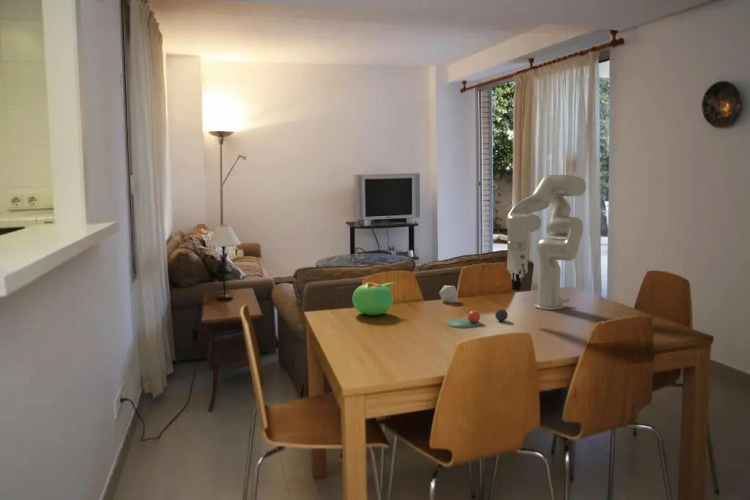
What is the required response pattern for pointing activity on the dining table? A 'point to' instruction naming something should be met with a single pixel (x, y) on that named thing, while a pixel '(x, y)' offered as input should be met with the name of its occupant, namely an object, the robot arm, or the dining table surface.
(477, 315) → the red ball
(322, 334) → the dining table surface
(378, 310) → the green apple
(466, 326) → the green mark
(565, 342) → the dining table surface
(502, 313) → the black ball
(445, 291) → the die
